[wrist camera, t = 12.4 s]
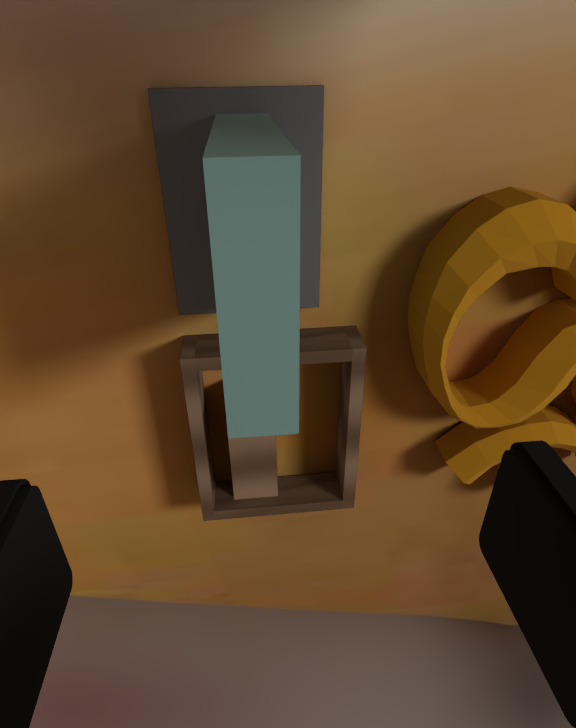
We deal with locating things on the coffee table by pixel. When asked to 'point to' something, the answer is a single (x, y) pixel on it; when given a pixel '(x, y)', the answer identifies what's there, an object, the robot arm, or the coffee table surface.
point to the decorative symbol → (526, 345)
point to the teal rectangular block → (255, 270)
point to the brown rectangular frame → (292, 490)
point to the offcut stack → (254, 466)
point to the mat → (187, 185)
